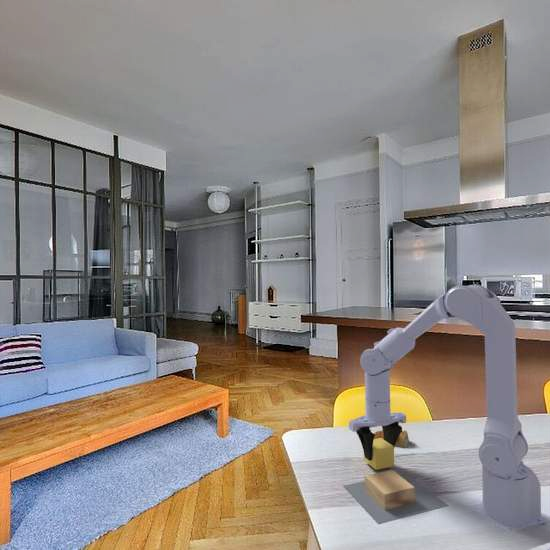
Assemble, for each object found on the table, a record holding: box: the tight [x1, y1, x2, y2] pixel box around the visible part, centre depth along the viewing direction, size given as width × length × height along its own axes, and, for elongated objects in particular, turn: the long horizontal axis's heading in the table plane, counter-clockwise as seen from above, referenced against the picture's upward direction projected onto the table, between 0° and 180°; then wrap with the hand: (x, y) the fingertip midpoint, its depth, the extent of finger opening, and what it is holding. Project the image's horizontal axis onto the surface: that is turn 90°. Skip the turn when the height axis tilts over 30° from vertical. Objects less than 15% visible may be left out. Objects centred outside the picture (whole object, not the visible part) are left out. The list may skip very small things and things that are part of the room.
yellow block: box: [363, 438, 395, 471], centre depth 87 cm, size 5×5×4 cm
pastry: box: [373, 429, 410, 448], centre depth 101 cm, size 9×7×4 cm
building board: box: [342, 472, 449, 525], centre depth 76 cm, size 16×13×1 cm
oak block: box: [364, 469, 415, 510], centre depth 76 cm, size 7×7×3 cm
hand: (378, 456), depth 87 cm, fingers closed on yellow block, 5 cm apart
